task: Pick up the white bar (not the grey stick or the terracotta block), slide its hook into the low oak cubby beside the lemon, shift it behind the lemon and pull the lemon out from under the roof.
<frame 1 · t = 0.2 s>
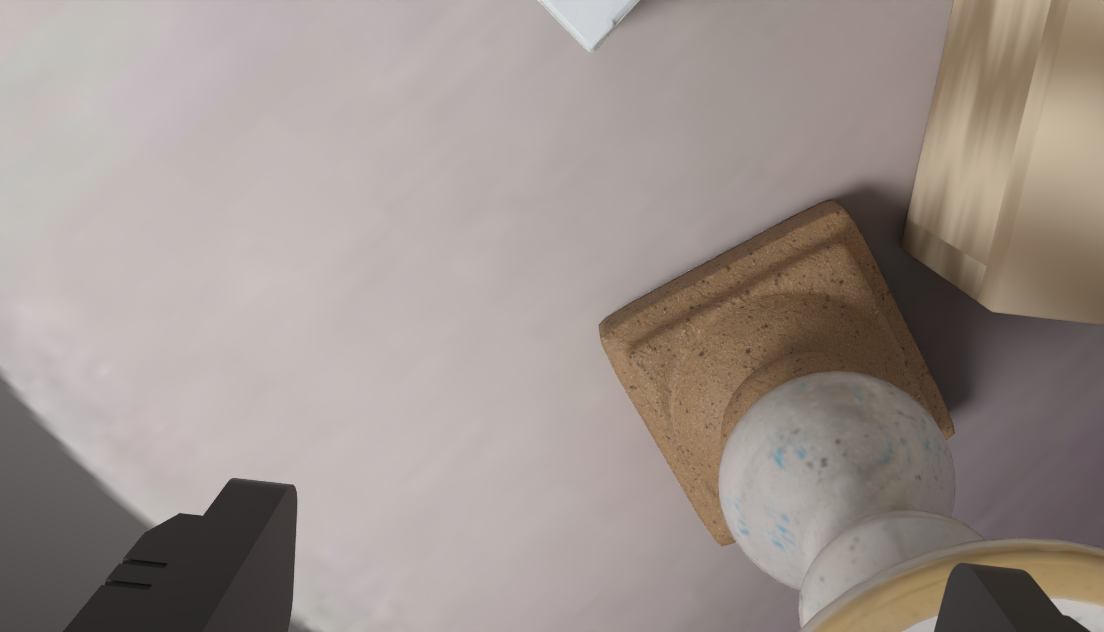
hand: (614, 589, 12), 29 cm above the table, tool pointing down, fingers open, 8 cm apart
candle holder: (770, 369, 42), on the table
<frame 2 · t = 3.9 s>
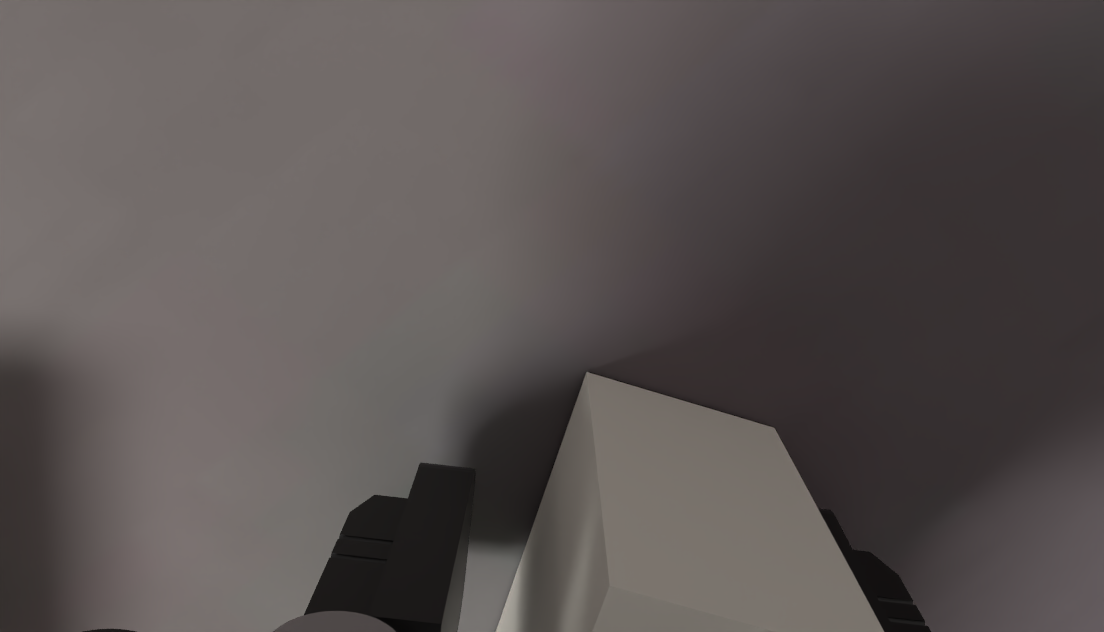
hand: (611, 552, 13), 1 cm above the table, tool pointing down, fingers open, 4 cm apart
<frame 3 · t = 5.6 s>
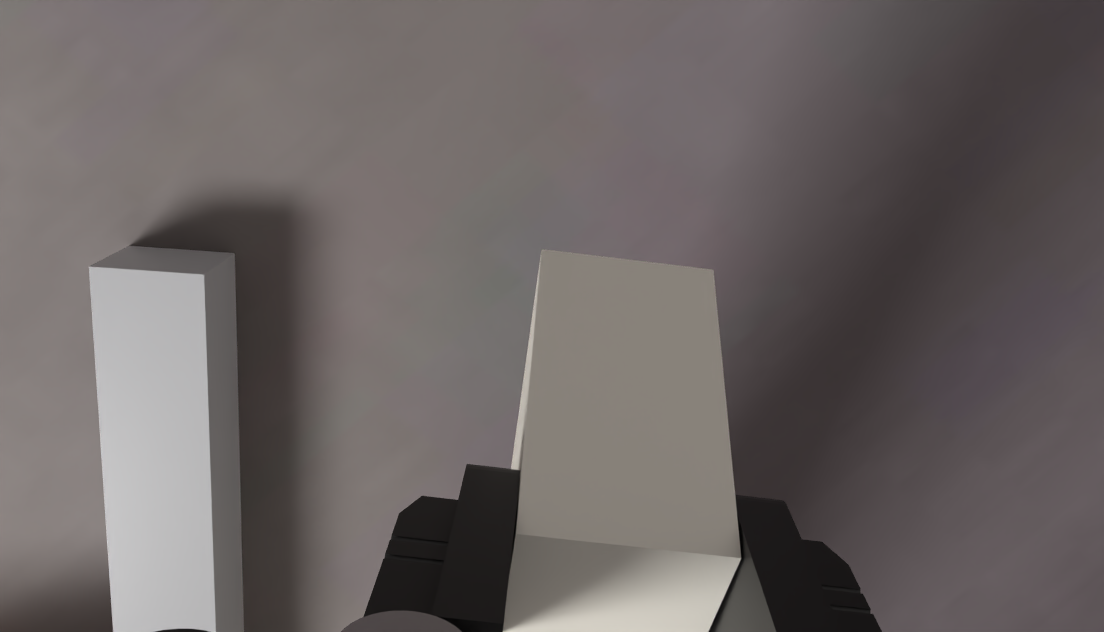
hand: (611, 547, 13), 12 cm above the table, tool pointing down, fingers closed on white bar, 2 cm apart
grey stick: (196, 500, 27), on the table
white bar: (552, 602, 22), point 5 cm above the table, tilted 27°, touching gripper
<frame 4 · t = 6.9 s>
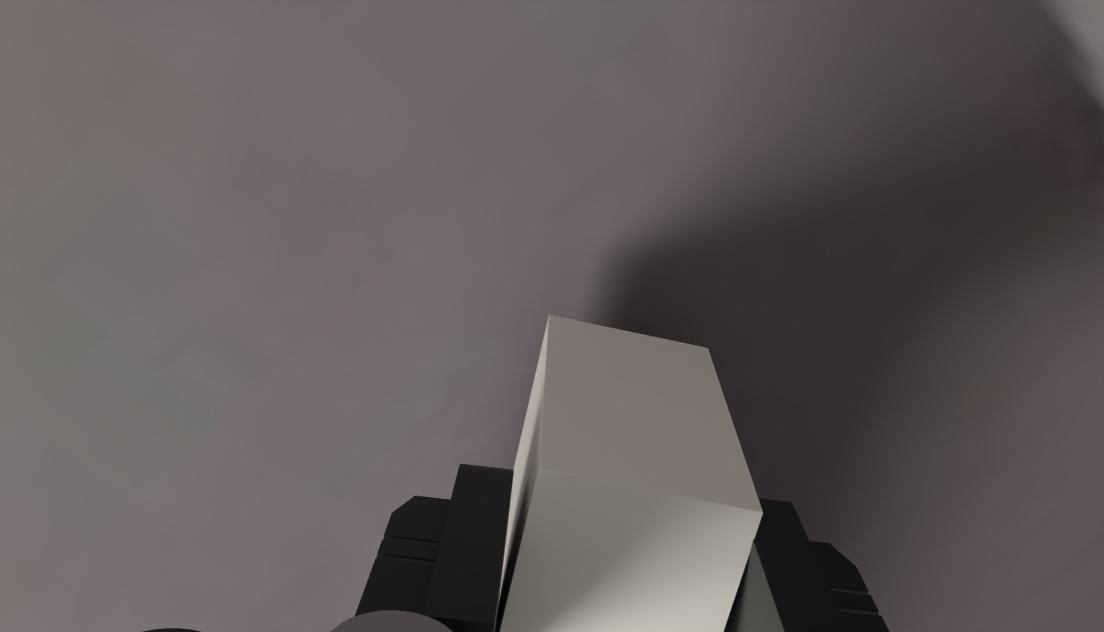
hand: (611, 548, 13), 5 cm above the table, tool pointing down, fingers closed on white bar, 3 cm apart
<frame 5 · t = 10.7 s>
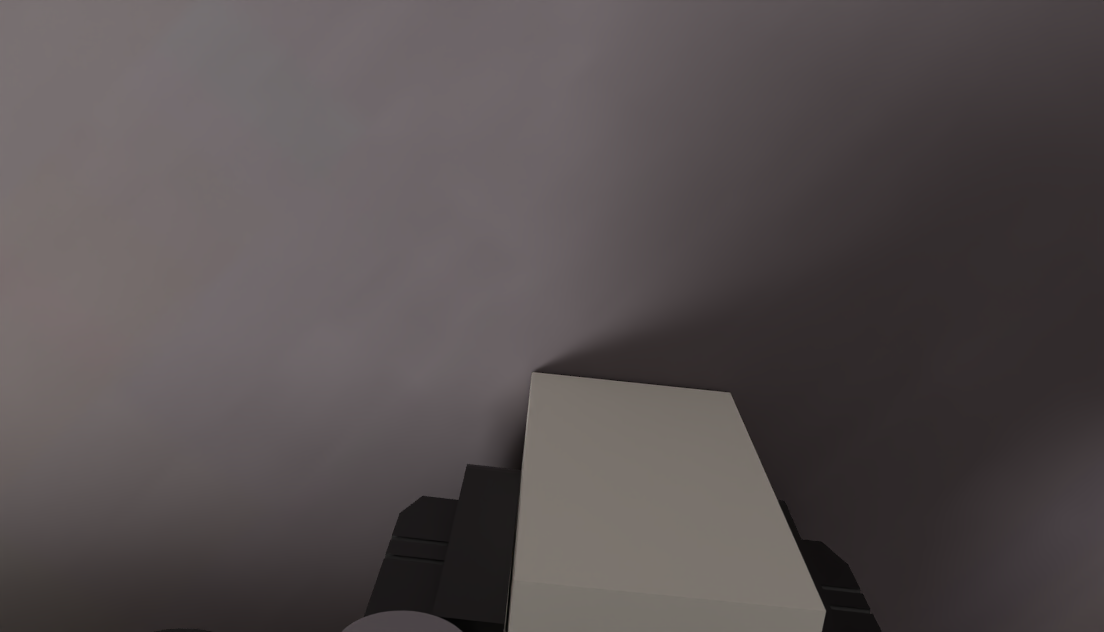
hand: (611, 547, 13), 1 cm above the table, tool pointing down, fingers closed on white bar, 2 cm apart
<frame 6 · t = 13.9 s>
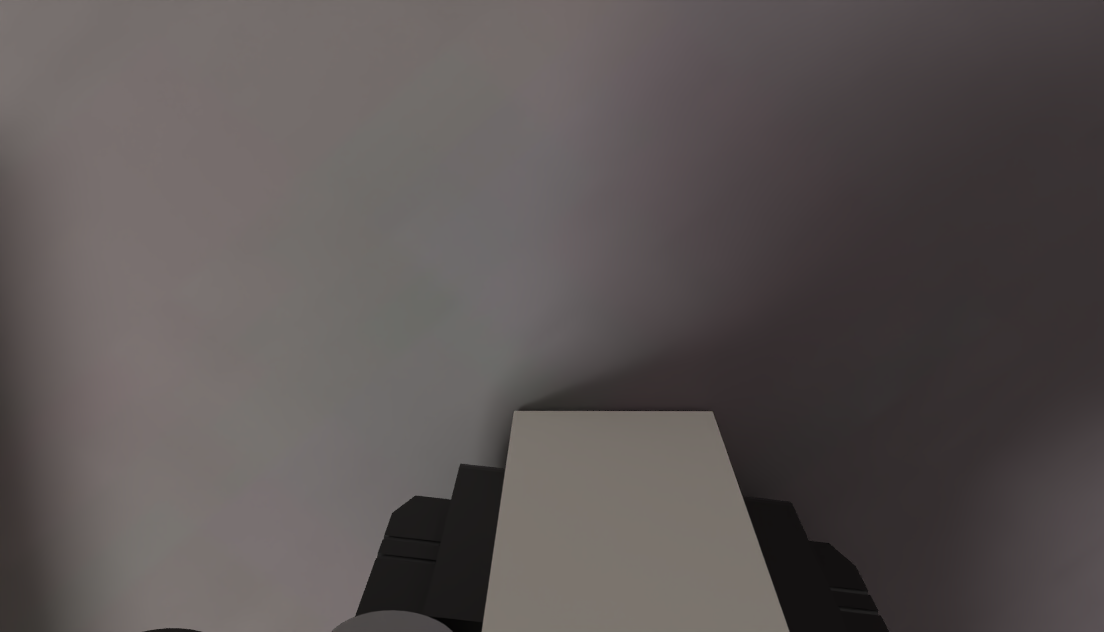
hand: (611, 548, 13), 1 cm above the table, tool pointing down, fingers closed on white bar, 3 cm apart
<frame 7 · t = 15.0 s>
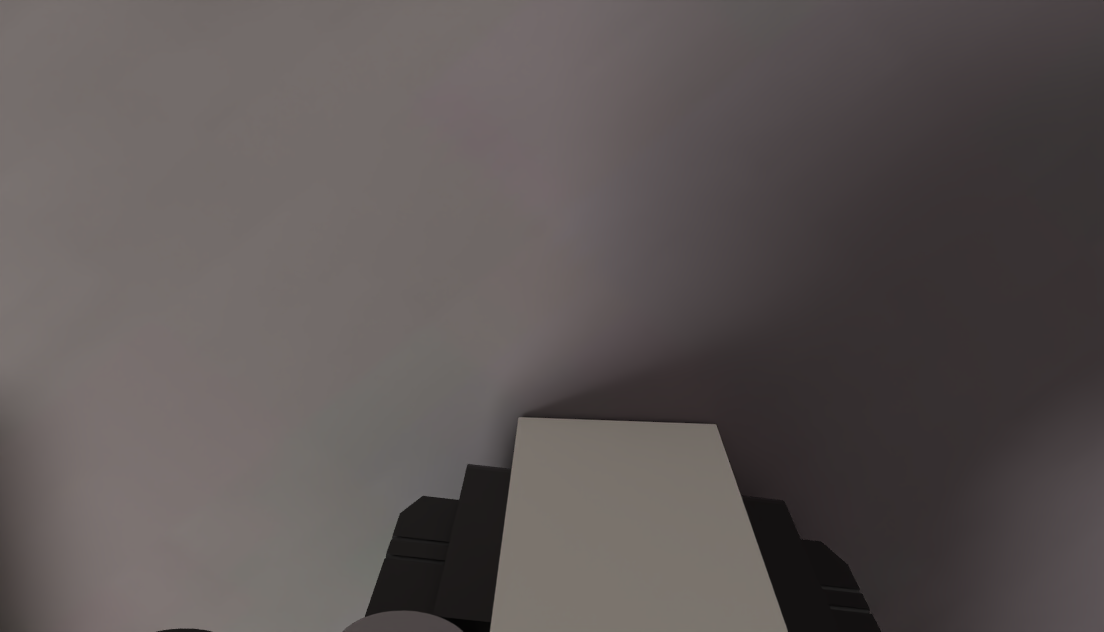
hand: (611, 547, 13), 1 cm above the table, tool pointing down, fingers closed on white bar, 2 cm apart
when the fingers open (1 cm above the table, at t = 15.1 s): white bar stays where it is, on the table.
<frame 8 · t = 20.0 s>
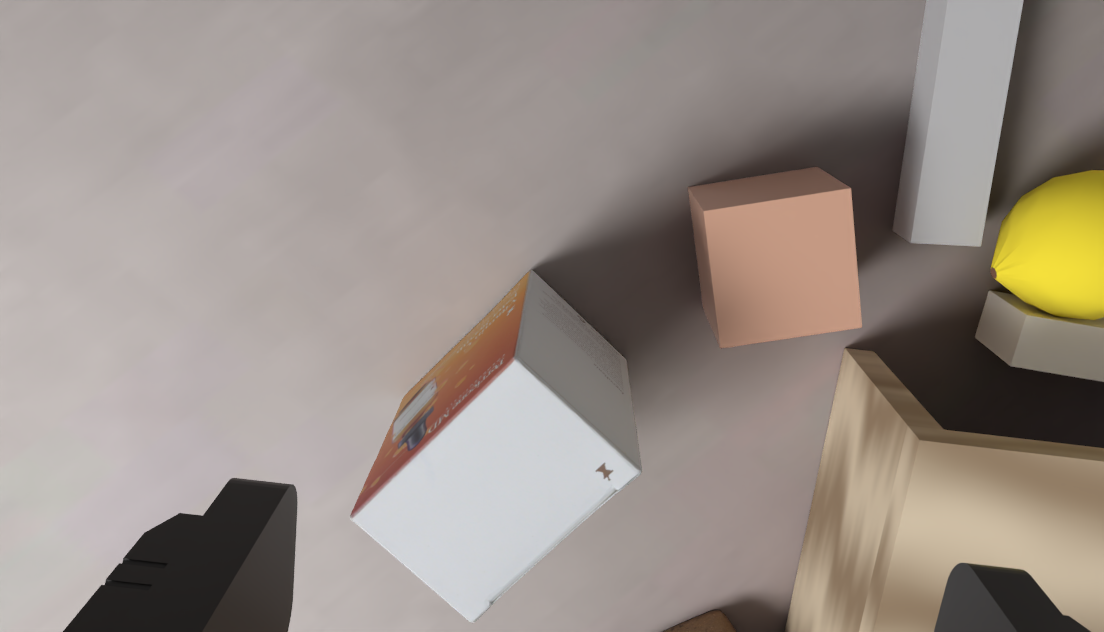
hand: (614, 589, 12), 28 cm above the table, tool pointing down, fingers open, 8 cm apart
terracotta block: (758, 239, 40), on the table
grey stick: (951, 47, 38), on the table
lemon: (1048, 230, 39), on the table
cubby: (992, 523, 43), on the table
small box: (513, 377, 42), on the table
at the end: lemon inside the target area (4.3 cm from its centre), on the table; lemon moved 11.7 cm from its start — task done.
